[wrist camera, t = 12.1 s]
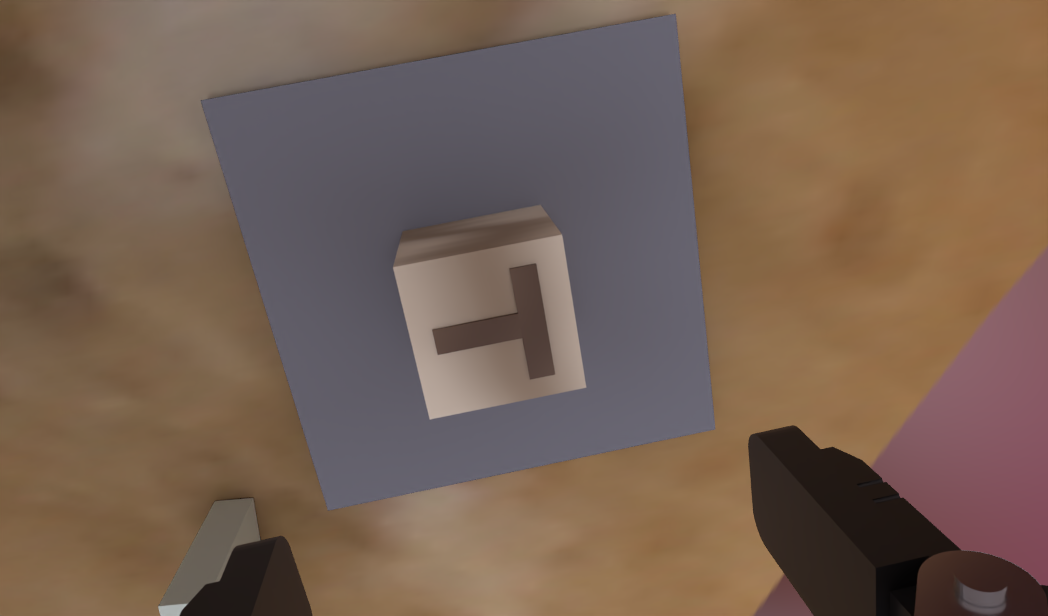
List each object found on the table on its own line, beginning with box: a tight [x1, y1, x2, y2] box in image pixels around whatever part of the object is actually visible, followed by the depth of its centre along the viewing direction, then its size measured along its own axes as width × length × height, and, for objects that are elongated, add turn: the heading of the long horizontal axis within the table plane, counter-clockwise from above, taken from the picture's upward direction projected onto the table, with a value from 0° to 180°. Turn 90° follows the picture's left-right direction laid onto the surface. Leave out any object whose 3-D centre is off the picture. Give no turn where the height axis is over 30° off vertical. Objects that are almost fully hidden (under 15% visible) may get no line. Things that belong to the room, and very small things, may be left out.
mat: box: [201, 14, 715, 511], centre depth 27 cm, size 16×16×1 cm
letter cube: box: [393, 205, 586, 419], centre depth 24 cm, size 5×5×5 cm
